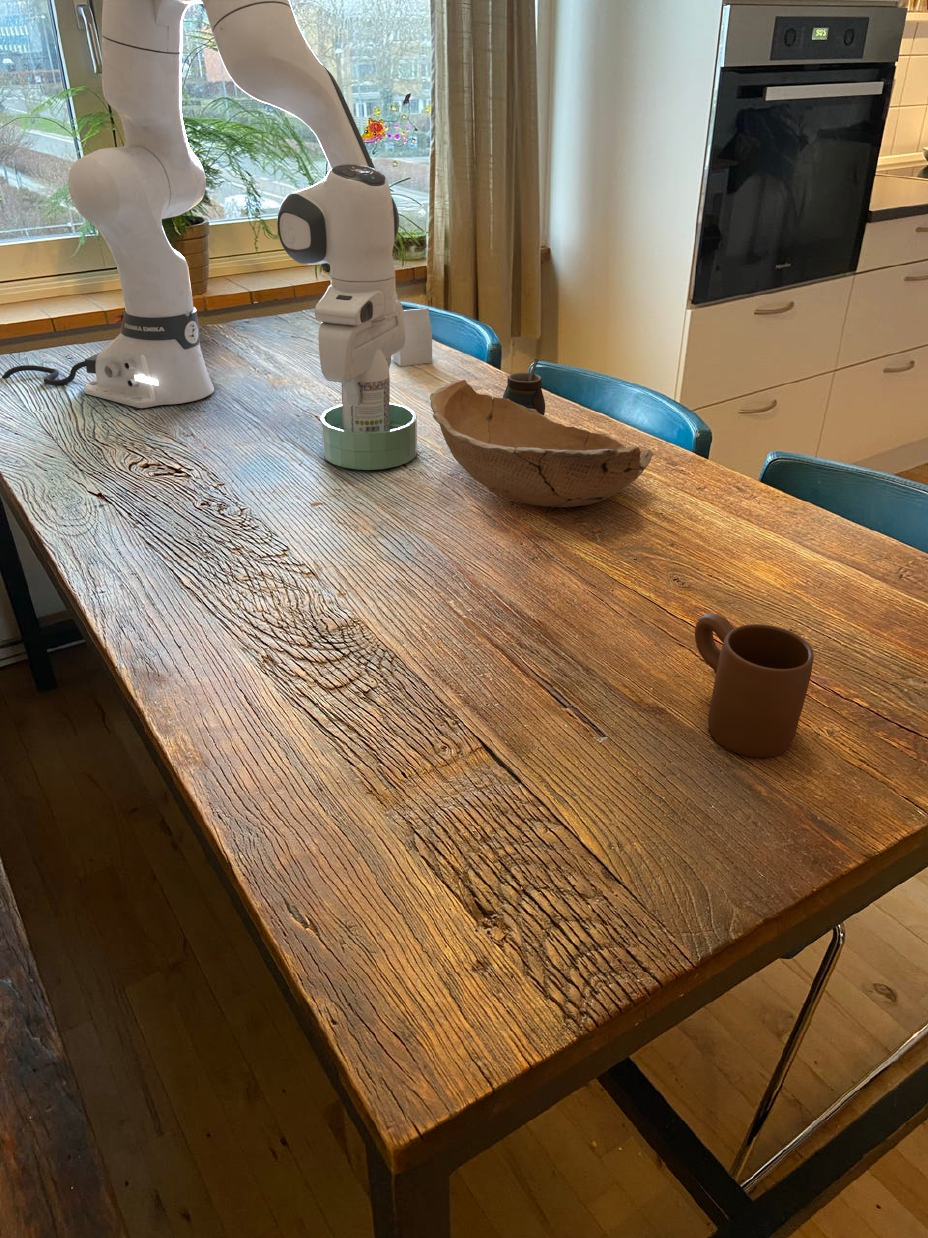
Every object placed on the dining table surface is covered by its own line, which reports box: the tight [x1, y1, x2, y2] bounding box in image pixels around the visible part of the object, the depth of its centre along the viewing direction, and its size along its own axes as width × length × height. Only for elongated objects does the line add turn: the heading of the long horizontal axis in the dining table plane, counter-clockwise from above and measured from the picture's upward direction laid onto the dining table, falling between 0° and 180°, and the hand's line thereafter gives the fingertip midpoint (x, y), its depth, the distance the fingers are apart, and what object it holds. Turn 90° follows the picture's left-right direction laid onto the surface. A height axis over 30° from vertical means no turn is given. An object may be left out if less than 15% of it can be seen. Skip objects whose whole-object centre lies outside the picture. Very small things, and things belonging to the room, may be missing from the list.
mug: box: [694, 612, 815, 759], centre depth 81 cm, size 12×8×9 cm, turn 30°
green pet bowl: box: [319, 402, 418, 471], centre depth 136 cm, size 14×14×6 cm
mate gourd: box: [502, 358, 546, 416], centre depth 148 cm, size 7×8×10 cm
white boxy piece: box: [392, 307, 433, 367], centre depth 178 cm, size 4×7×10 cm, turn 115°
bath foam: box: [340, 349, 391, 432], centre depth 132 cm, size 7×7×20 cm
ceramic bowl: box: [429, 379, 655, 508], centre depth 124 cm, size 30×27×15 cm
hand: (367, 395), depth 133 cm, fingers closed on bath foam, 7 cm apart
